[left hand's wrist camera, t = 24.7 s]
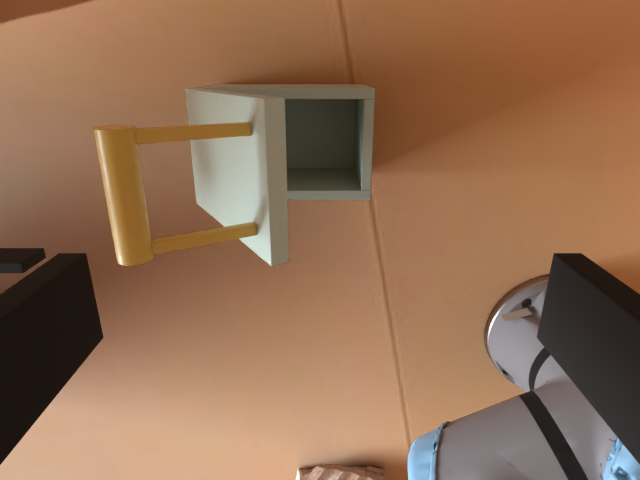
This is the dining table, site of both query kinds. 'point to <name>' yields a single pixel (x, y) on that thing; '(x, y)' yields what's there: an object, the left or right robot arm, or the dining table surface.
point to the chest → (324, 137)
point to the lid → (206, 176)
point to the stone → (340, 473)
